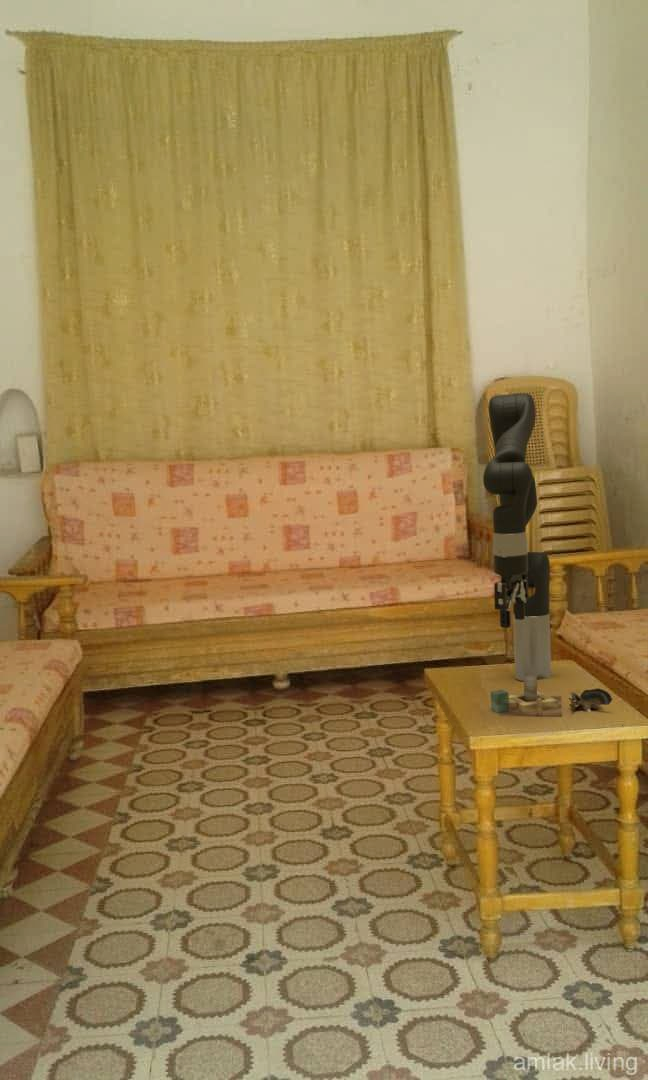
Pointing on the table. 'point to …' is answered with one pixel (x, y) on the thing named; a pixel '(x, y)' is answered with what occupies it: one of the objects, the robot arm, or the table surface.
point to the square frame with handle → (519, 702)
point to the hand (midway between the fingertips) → (512, 623)
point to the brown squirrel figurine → (590, 700)
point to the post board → (534, 714)
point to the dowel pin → (539, 706)
